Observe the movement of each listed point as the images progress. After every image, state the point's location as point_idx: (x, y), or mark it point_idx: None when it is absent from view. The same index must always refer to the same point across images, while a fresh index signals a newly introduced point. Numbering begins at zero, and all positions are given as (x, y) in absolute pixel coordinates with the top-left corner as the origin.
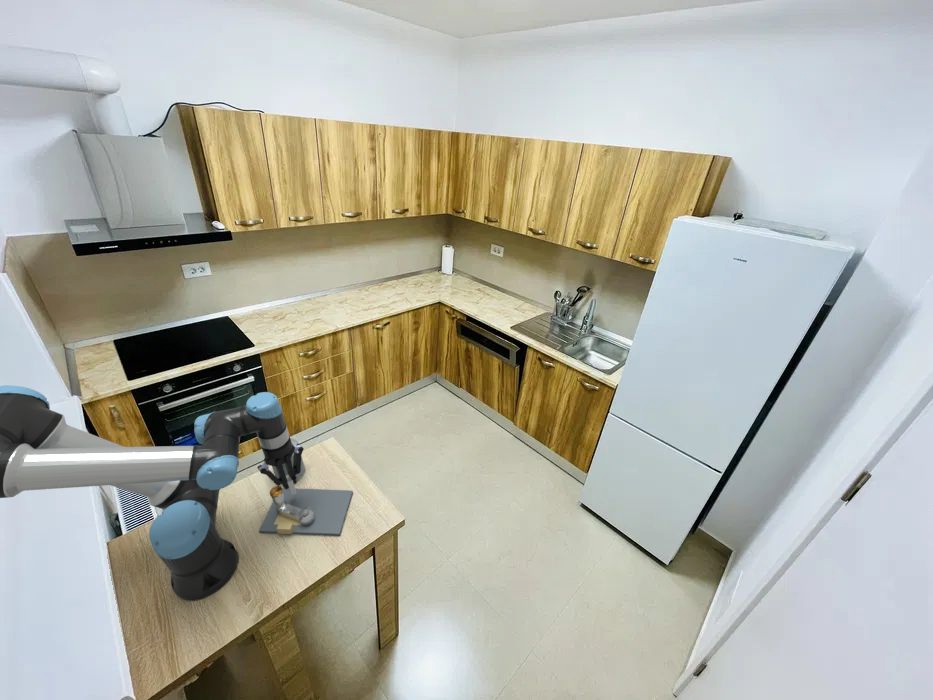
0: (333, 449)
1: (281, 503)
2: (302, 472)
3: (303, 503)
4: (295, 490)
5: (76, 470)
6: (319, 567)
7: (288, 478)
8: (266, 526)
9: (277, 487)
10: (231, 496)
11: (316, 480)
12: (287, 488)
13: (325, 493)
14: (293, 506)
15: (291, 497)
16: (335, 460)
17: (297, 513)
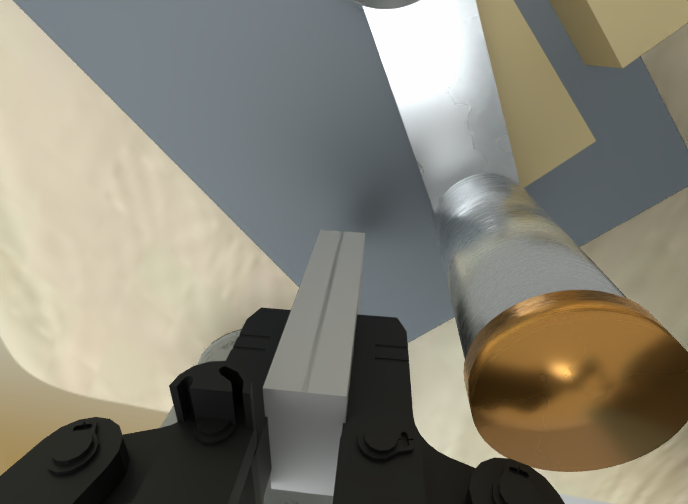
0: (16, 355)
1: (523, 210)
2: (215, 355)
3: (325, 136)
4: (317, 248)
5: None
6: None
7: (300, 443)
8: (641, 166)
9: (513, 431)
10: (565, 476)
11: (173, 250)
12: (377, 318)
13: (144, 83)
14: (413, 137)
15: None
16: (21, 288)
17: (435, 23)
